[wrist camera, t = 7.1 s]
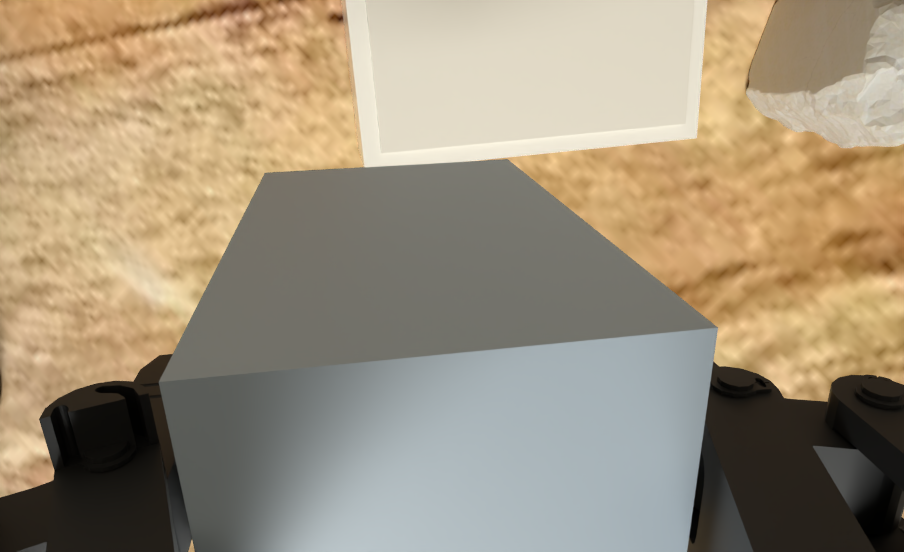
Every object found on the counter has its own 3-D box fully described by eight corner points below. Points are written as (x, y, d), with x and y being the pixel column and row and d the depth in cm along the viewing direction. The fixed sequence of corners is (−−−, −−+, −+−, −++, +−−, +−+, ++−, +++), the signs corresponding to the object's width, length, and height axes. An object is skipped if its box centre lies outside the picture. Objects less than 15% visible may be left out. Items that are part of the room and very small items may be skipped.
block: (292, 388, 18) (242, 774, 9) (265, 172, 16) (158, 382, 6) (505, 367, 19) (667, 698, 10) (507, 159, 17) (718, 327, 7)
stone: (793, -70, 35) (999, -114, 24) (869, -45, 36) (1097, -76, 25) (726, 121, 38) (883, 157, 27) (799, 138, 39) (976, 178, 29)
